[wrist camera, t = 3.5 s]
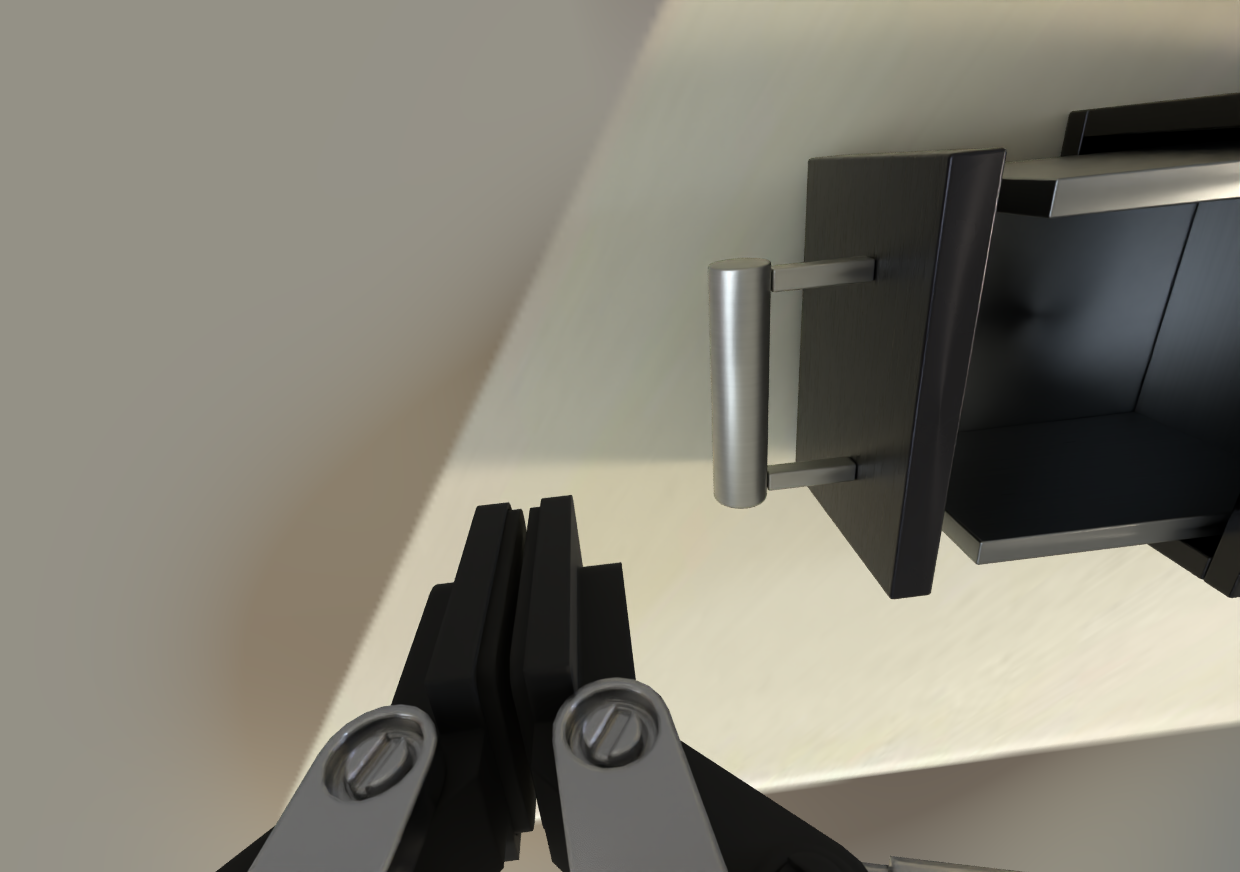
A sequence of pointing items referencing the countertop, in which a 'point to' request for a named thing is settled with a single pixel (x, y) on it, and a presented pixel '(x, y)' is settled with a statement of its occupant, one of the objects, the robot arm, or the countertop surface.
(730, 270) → the drawer
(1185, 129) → the cabinet
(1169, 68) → the countertop surface
